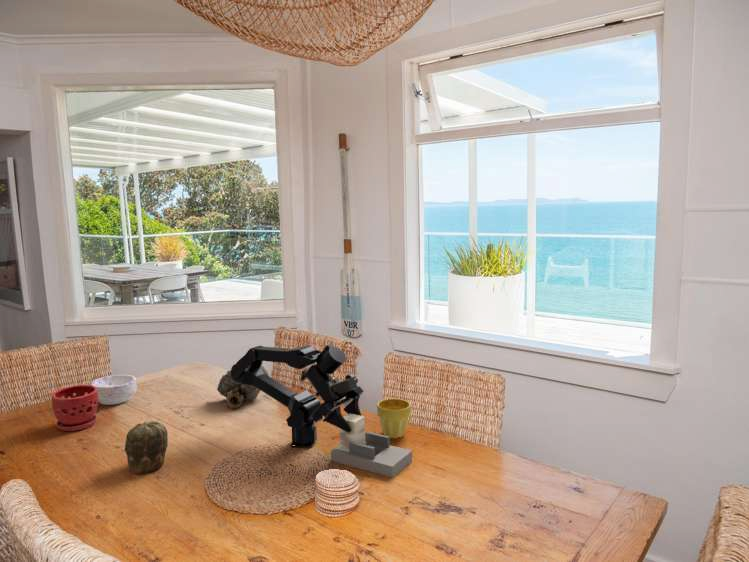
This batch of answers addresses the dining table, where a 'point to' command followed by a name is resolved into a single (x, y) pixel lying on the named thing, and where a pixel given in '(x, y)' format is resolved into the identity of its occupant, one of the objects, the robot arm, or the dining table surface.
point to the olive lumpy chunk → (146, 447)
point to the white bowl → (115, 388)
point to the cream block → (353, 430)
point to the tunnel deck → (373, 455)
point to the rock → (237, 390)
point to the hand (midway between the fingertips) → (356, 427)
